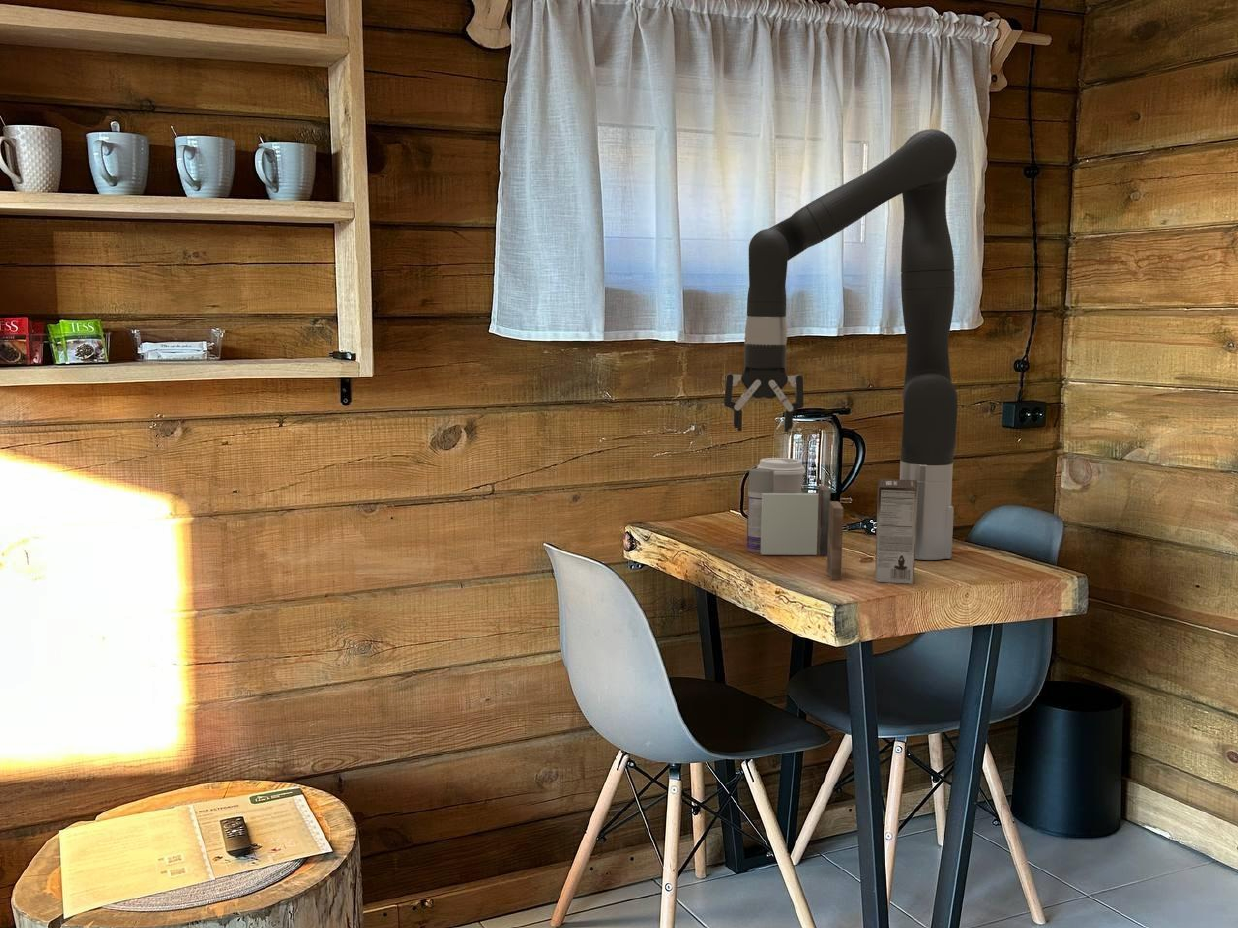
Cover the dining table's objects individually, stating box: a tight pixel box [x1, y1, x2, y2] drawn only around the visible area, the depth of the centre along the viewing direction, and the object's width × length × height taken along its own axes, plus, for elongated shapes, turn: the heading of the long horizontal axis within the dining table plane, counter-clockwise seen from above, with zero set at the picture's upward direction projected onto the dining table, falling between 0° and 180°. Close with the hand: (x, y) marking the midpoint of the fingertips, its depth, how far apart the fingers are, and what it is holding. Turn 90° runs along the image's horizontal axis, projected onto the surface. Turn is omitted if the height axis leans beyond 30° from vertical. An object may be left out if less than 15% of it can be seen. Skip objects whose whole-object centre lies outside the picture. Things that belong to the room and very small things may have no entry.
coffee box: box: [874, 478, 918, 585], centre depth 200 cm, size 9×6×16 cm
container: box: [746, 467, 774, 554], centre depth 220 cm, size 5×5×15 cm
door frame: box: [817, 485, 844, 581], centre depth 209 cm, size 2×24×12 cm, turn 176°
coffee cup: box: [756, 457, 806, 493], centre depth 233 cm, size 10×10×15 cm
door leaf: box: [760, 492, 819, 556], centre depth 216 cm, size 10×1×11 cm, turn 92°
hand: (762, 431), depth 218 cm, fingers open, 8 cm apart
